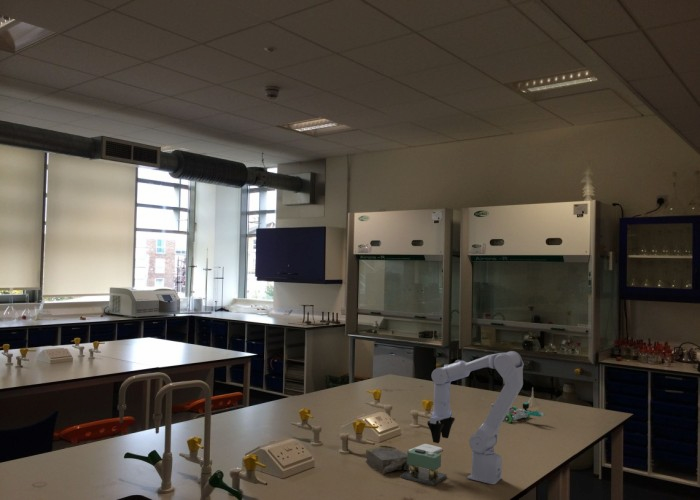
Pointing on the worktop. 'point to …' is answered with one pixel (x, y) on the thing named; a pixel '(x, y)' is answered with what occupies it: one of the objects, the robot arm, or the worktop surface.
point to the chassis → (423, 475)
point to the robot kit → (520, 413)
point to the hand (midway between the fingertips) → (440, 440)
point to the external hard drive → (429, 448)
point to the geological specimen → (386, 459)
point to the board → (424, 459)
